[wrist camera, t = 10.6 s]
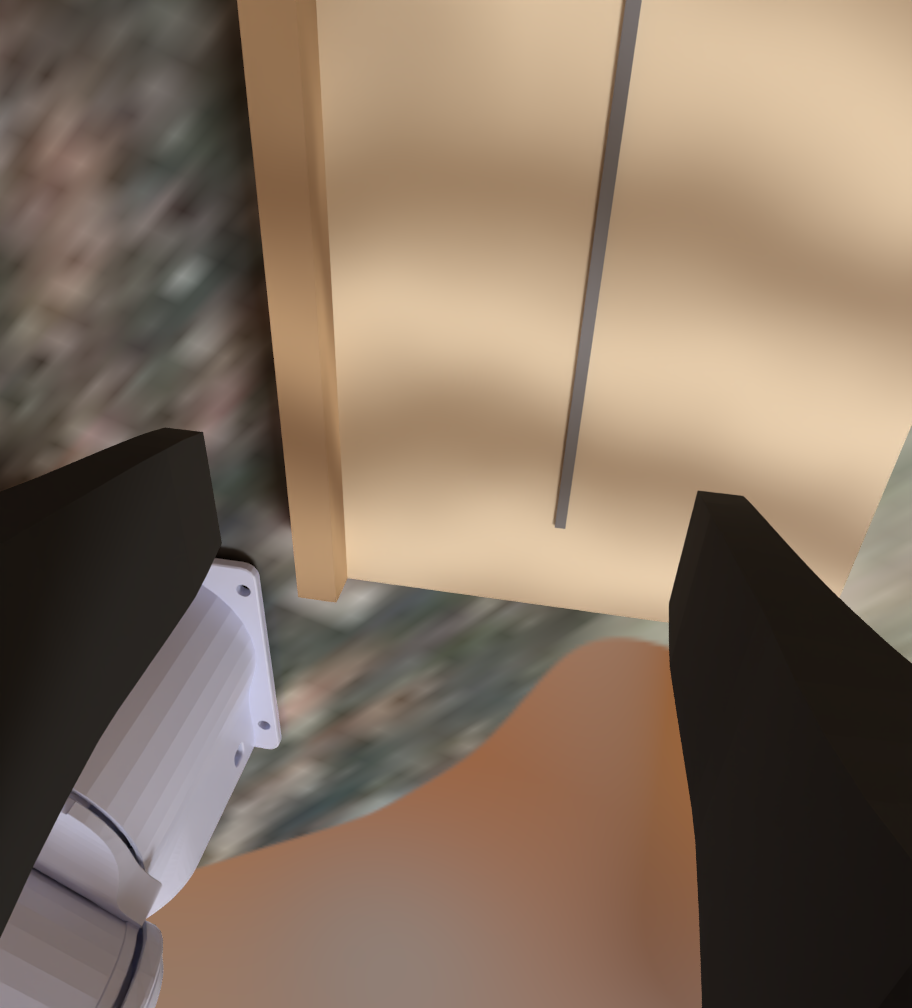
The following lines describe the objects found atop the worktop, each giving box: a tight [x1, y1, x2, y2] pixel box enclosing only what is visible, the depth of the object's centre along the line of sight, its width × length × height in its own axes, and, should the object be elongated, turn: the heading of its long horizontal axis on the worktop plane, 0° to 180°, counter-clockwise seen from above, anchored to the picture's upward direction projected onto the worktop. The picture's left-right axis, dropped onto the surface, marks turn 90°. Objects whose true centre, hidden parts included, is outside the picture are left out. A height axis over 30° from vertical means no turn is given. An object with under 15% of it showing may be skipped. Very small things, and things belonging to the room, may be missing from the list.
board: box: [237, 0, 912, 622], centre depth 17 cm, size 22×16×3 cm
